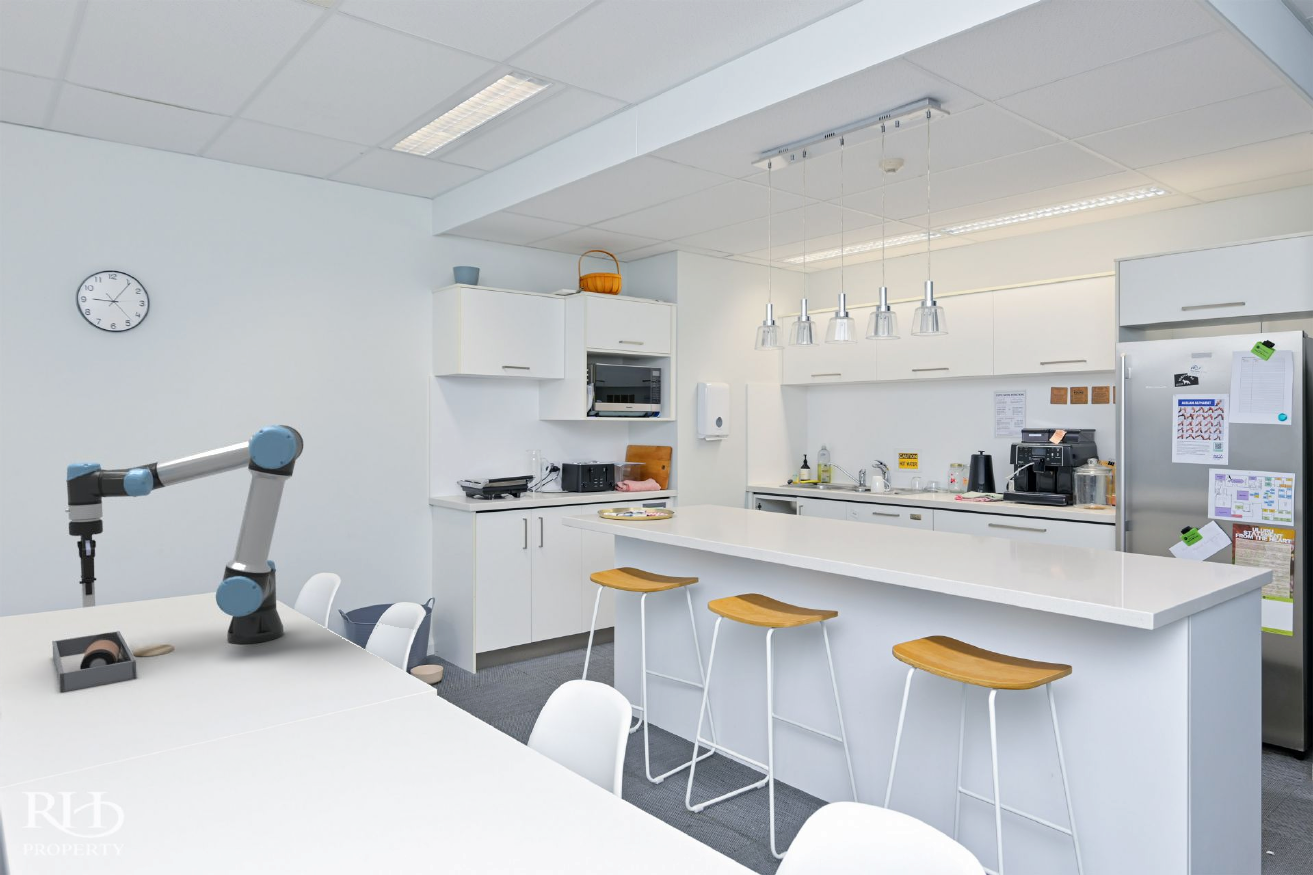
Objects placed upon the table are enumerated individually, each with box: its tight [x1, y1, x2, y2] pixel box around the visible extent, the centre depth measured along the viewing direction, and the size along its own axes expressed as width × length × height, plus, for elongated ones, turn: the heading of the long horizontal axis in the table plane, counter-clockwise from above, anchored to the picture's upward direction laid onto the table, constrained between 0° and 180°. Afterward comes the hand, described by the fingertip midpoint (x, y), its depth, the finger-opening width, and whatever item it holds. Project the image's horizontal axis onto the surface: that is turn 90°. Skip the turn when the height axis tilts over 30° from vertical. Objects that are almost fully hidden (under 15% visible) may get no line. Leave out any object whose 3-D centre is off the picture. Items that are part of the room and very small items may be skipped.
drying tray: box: [51, 630, 137, 693], centre depth 216 cm, size 37×16×4 cm, turn 39°
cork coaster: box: [132, 644, 175, 658], centre depth 229 cm, size 10×10×1 cm
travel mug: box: [79, 632, 121, 670], centre depth 213 cm, size 8×8×20 cm
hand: (89, 605), depth 220 cm, fingers closed
